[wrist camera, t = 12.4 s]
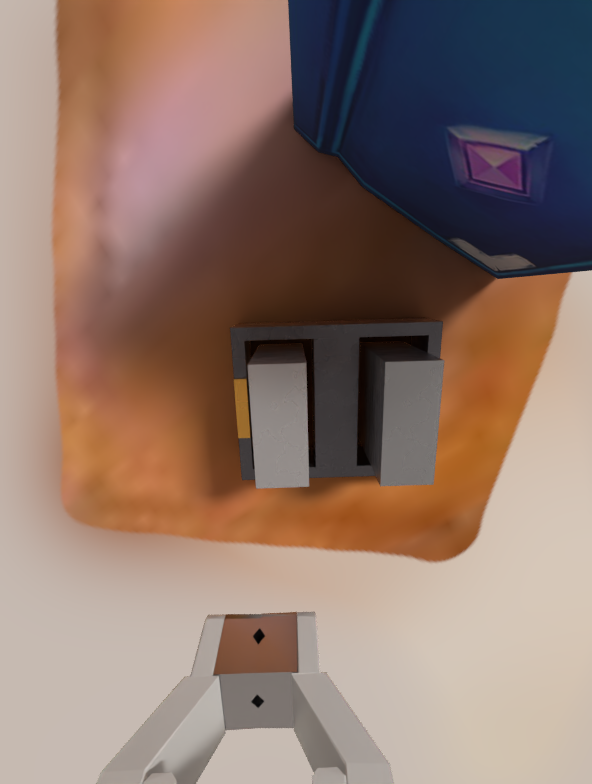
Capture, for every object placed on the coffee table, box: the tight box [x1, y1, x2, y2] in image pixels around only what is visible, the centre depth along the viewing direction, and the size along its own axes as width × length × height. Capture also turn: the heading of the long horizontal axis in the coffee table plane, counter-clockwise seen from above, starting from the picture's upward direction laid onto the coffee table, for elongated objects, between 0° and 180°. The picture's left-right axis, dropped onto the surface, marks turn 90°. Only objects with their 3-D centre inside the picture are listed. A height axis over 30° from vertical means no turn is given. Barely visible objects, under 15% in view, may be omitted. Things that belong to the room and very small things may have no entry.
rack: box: [230, 318, 444, 486], centre depth 28 cm, size 13×16×9 cm
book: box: [288, 0, 592, 279], centre depth 16 cm, size 22×7×25 cm, turn 60°
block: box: [248, 343, 309, 488], centre depth 28 cm, size 9×4×9 cm, turn 2°
